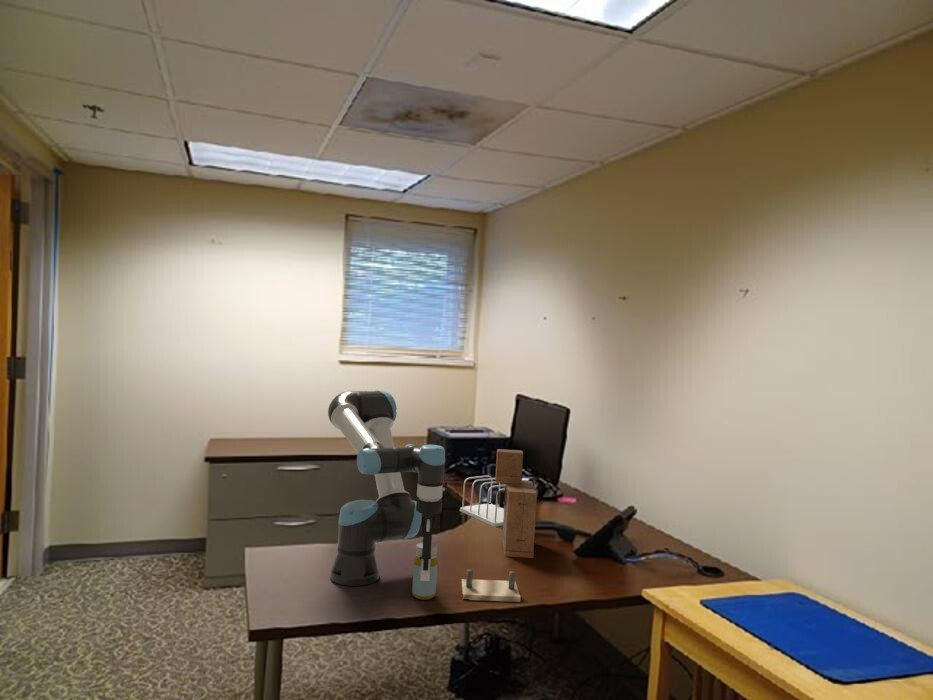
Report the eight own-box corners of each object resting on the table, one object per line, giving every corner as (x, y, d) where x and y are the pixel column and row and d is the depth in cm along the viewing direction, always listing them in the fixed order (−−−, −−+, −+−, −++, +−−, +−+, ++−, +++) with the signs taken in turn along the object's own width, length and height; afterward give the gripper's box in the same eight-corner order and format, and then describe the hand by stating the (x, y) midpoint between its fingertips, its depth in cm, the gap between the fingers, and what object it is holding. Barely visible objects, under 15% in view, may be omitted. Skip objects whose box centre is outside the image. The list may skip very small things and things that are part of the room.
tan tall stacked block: (491, 538, 246) (497, 448, 245) (528, 540, 246) (533, 450, 245) (493, 555, 227) (499, 458, 226) (533, 557, 227) (539, 460, 226)
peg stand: (463, 599, 187) (464, 577, 187) (461, 583, 199) (462, 563, 199) (520, 601, 188) (521, 580, 188) (515, 585, 200) (516, 565, 200)
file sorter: (459, 511, 281) (461, 476, 281) (490, 507, 292) (492, 473, 291) (494, 527, 261) (497, 489, 261) (526, 522, 271) (528, 485, 271)
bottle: (435, 591, 191) (438, 542, 191) (435, 601, 184) (438, 549, 184) (412, 590, 191) (415, 540, 191) (411, 599, 184) (414, 548, 184)
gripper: (442, 508, 177) (437, 589, 178) (442, 490, 197) (437, 563, 198) (415, 506, 177) (410, 588, 177) (417, 489, 197) (413, 562, 197)
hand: (424, 575), depth 188 cm, fingers closed on bottle, 7 cm apart
